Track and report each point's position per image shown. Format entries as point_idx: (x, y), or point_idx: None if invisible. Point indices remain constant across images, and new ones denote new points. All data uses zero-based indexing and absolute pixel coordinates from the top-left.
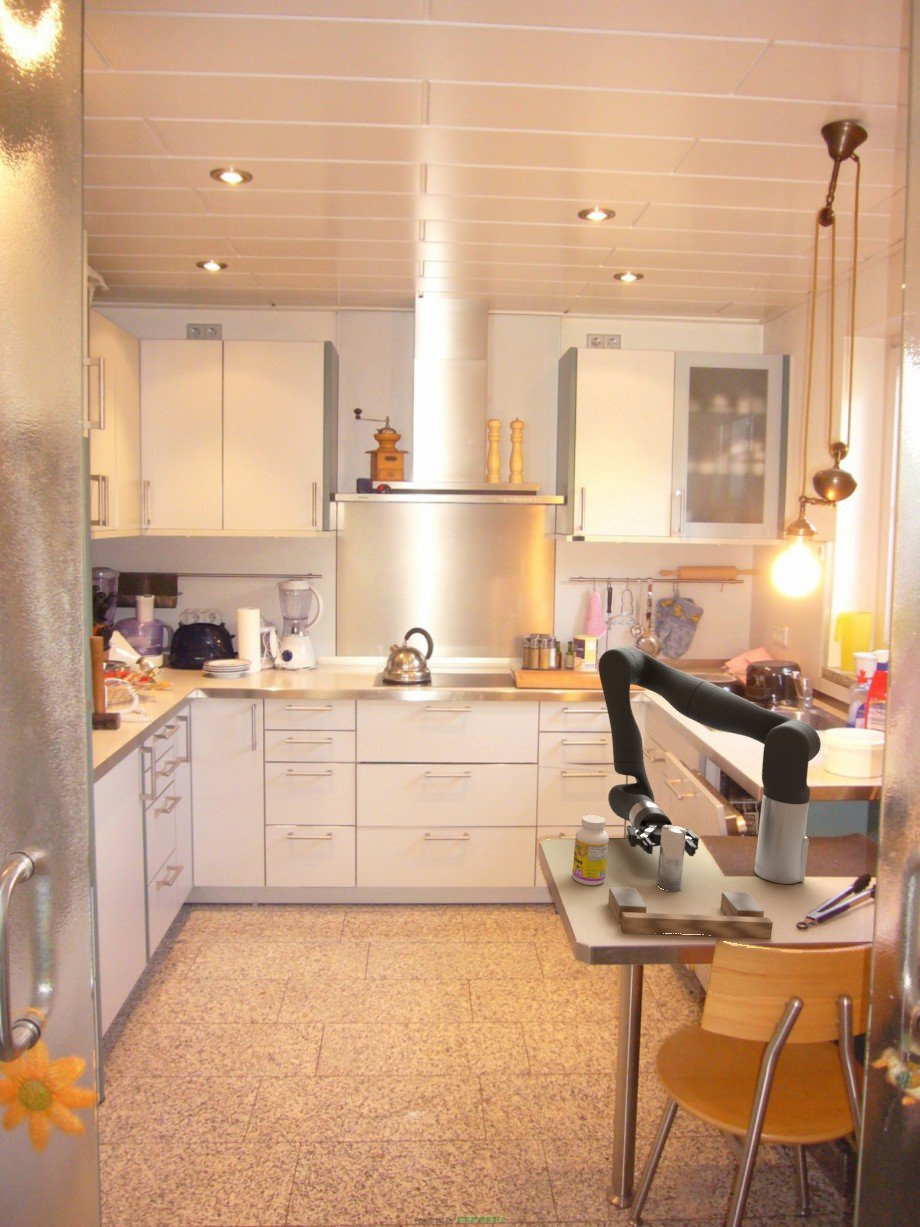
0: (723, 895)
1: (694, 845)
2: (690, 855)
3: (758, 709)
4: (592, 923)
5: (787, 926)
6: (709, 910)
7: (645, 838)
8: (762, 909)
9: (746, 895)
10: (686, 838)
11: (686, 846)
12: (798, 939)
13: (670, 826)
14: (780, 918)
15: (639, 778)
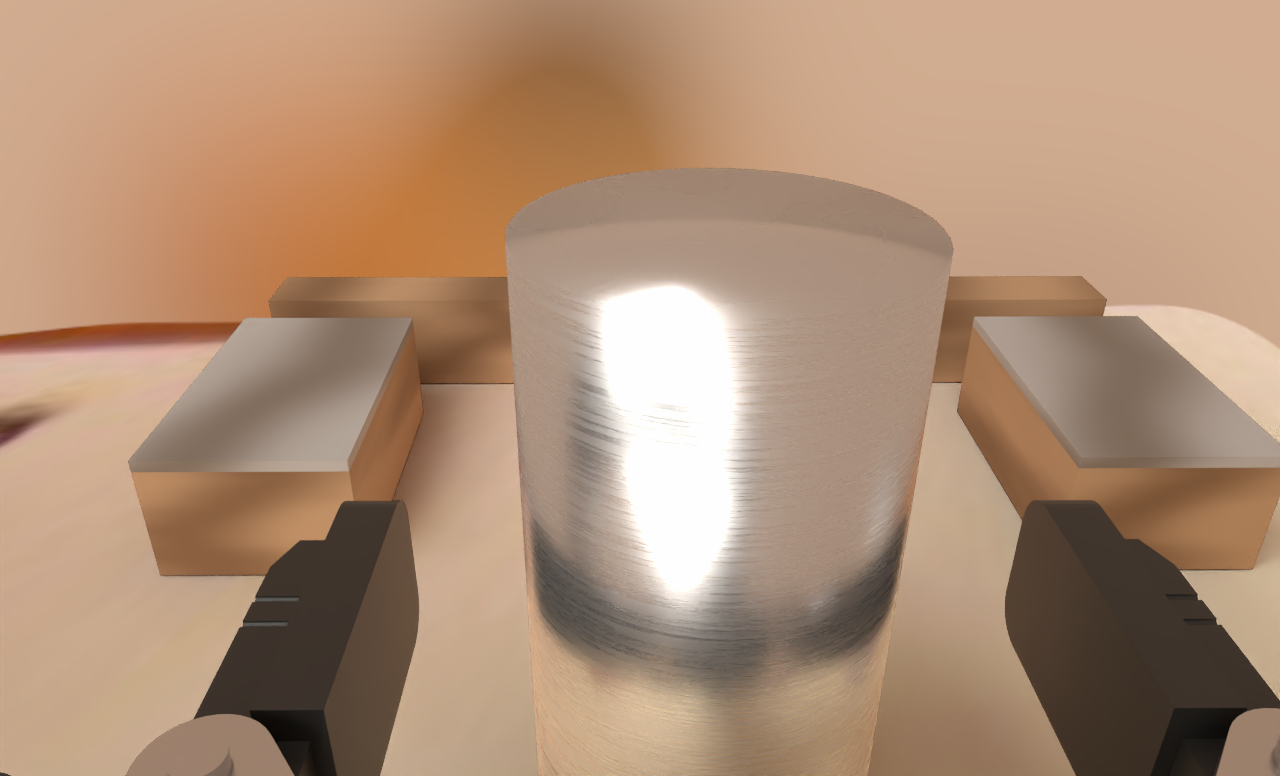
0: (358, 454)
1: (266, 601)
2: (418, 603)
3: None
4: (1252, 403)
5: (77, 434)
6: (477, 544)
7: (1222, 675)
8: (239, 327)
9: (185, 428)
10: (273, 740)
11: (361, 722)
12: (152, 359)
13: (766, 287)
14: (17, 495)
15: None
